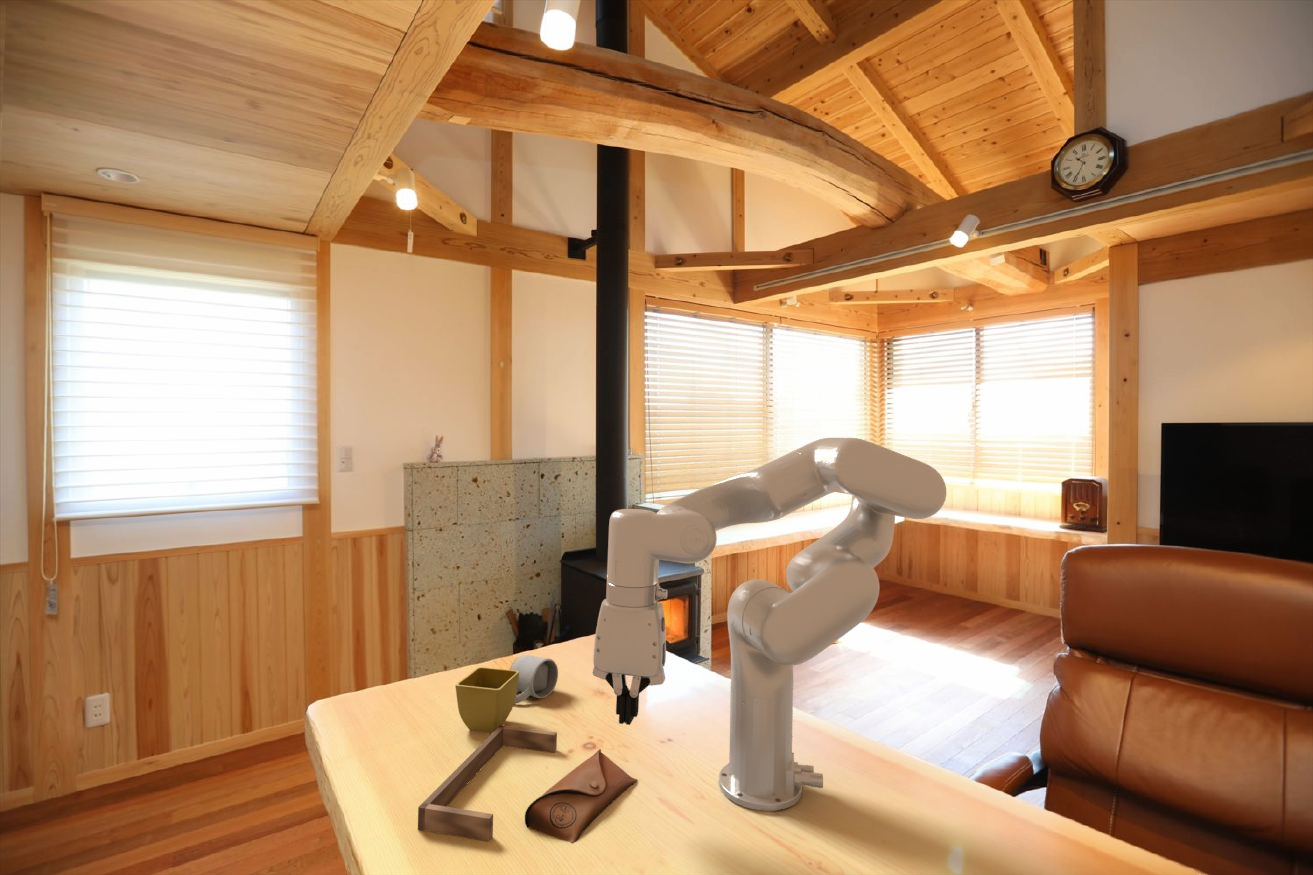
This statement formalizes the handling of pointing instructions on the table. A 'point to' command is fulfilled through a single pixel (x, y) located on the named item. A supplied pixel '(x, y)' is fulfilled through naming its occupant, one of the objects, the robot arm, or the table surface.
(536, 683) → the ceramic mug
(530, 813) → the sunglasses case
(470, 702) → the flower pot
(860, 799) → the table surface
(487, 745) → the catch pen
